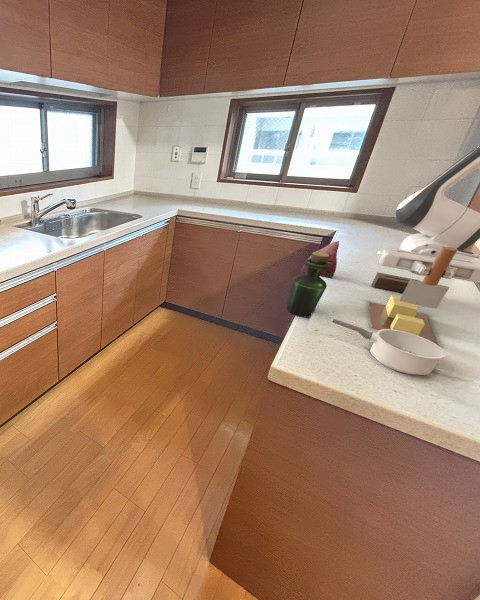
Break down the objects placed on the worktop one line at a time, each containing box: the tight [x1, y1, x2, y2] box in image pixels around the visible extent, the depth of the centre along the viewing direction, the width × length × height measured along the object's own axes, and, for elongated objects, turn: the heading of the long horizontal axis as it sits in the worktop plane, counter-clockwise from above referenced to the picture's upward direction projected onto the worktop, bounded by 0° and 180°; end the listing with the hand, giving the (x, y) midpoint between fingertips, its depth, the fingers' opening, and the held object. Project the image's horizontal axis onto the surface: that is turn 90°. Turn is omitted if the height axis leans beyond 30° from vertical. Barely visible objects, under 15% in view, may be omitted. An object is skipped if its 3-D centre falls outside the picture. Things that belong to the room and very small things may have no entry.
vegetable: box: [300, 240, 340, 280], centre depth 121 cm, size 10×10×15 cm
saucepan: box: [331, 318, 446, 376], centre depth 76 cm, size 12×20×6 cm, turn 47°
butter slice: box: [390, 314, 425, 336], centre depth 83 cm, size 5×3×4 cm, turn 53°
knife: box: [399, 247, 457, 310], centre depth 79 cm, size 7×3×15 cm, turn 53°
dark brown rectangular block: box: [371, 272, 421, 294], centre depth 109 cm, size 11×6×5 cm, turn 53°
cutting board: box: [368, 301, 440, 347], centre depth 90 cm, size 13×20×2 cm, turn 143°
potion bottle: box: [285, 251, 329, 318], centre depth 92 cm, size 8×8×18 cm
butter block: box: [385, 294, 419, 318], centre depth 92 cm, size 5×8×4 cm, turn 143°
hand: (437, 273), depth 77 cm, fingers closed on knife, 2 cm apart
